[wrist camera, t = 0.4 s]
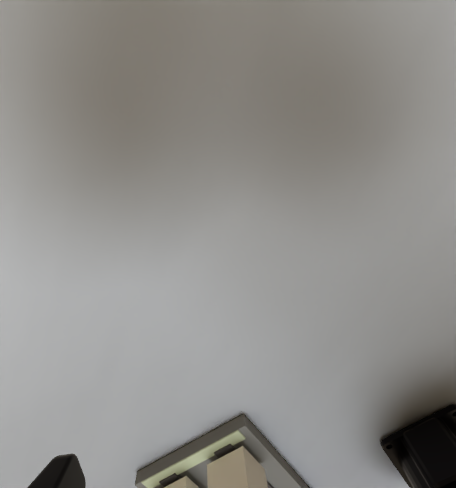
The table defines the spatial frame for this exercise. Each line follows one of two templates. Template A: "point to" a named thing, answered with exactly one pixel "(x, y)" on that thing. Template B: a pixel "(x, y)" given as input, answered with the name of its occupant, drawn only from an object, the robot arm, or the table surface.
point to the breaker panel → (214, 447)
